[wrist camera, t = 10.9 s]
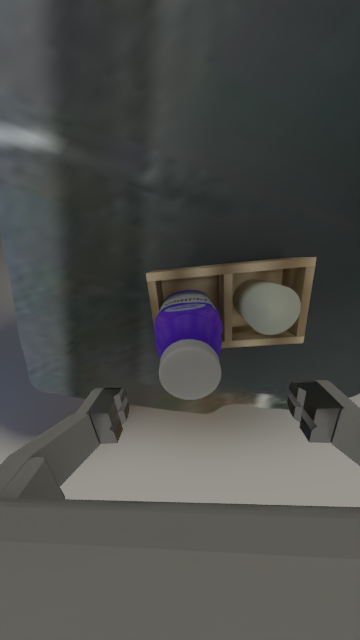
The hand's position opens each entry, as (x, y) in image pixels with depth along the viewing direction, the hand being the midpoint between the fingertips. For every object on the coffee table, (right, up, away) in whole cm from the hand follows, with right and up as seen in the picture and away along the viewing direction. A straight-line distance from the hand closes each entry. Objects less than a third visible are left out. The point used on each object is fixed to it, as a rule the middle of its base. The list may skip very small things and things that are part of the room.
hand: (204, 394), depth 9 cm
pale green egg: (+10, +7, +18) cm, 22 cm away
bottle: (0, +6, +19) cm, 20 cm away
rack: (+5, +7, +19) cm, 21 cm away
